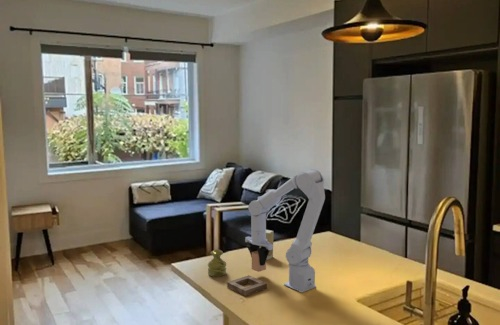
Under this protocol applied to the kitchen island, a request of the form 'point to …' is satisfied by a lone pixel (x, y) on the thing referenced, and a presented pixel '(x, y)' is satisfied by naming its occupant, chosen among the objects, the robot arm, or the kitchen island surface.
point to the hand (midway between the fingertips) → (258, 263)
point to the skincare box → (270, 239)
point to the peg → (257, 262)
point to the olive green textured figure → (217, 264)
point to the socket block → (256, 287)
